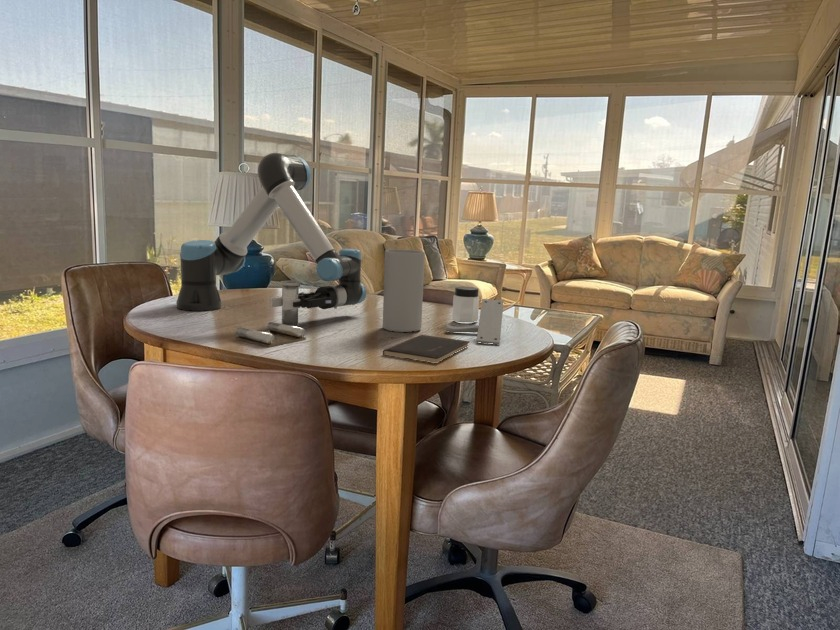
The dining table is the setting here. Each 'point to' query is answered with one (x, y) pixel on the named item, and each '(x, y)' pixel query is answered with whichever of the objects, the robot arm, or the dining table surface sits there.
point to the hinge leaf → (271, 335)
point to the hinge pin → (290, 293)
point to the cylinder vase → (403, 290)
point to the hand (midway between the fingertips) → (277, 304)
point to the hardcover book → (426, 348)
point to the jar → (465, 304)
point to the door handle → (485, 322)
